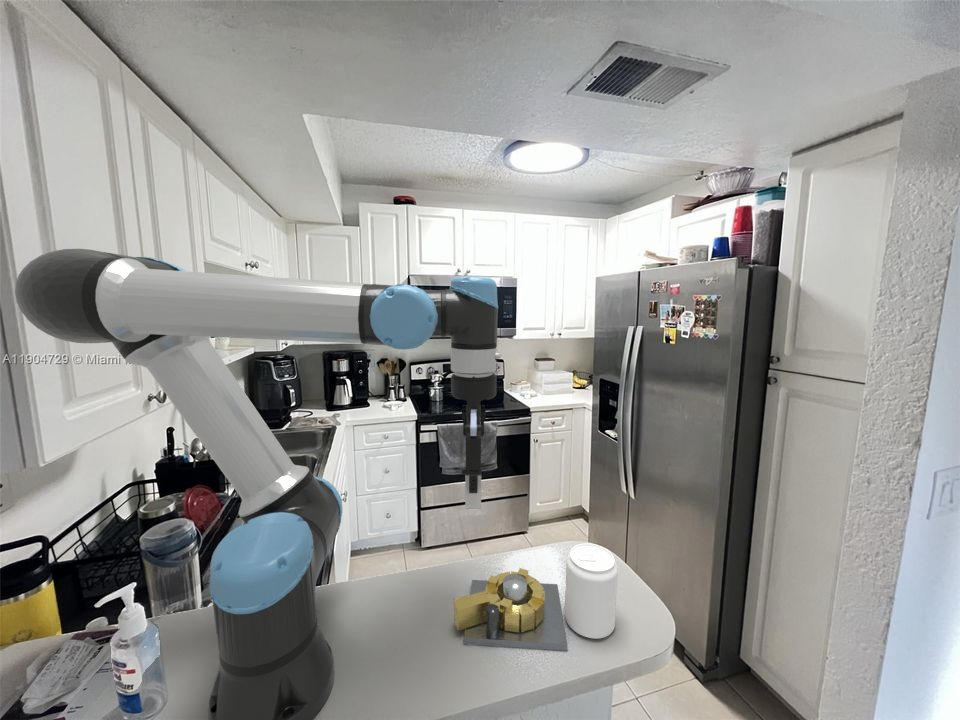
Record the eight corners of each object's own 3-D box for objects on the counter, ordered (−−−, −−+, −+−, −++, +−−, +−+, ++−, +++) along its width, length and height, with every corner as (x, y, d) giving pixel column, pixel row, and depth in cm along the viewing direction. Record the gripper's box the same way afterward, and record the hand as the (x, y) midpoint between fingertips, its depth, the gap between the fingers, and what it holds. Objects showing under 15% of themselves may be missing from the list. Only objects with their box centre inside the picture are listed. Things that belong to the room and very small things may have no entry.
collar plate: (464, 644, 62) (463, 609, 61) (471, 585, 75) (471, 555, 74) (567, 651, 60) (568, 615, 60) (557, 589, 73) (558, 559, 72)
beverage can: (617, 646, 61) (621, 576, 60) (564, 637, 63) (567, 569, 61) (611, 607, 69) (614, 544, 67) (564, 600, 71) (566, 539, 69)
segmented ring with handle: (527, 581, 74) (528, 561, 73) (555, 621, 64) (556, 599, 64) (447, 602, 68) (447, 581, 68) (465, 649, 59) (464, 626, 59)
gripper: (498, 381, 58) (496, 528, 62) (494, 366, 71) (493, 489, 75) (448, 380, 58) (448, 528, 62) (453, 366, 71) (453, 489, 75)
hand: (473, 506), depth 68 cm, fingers closed
